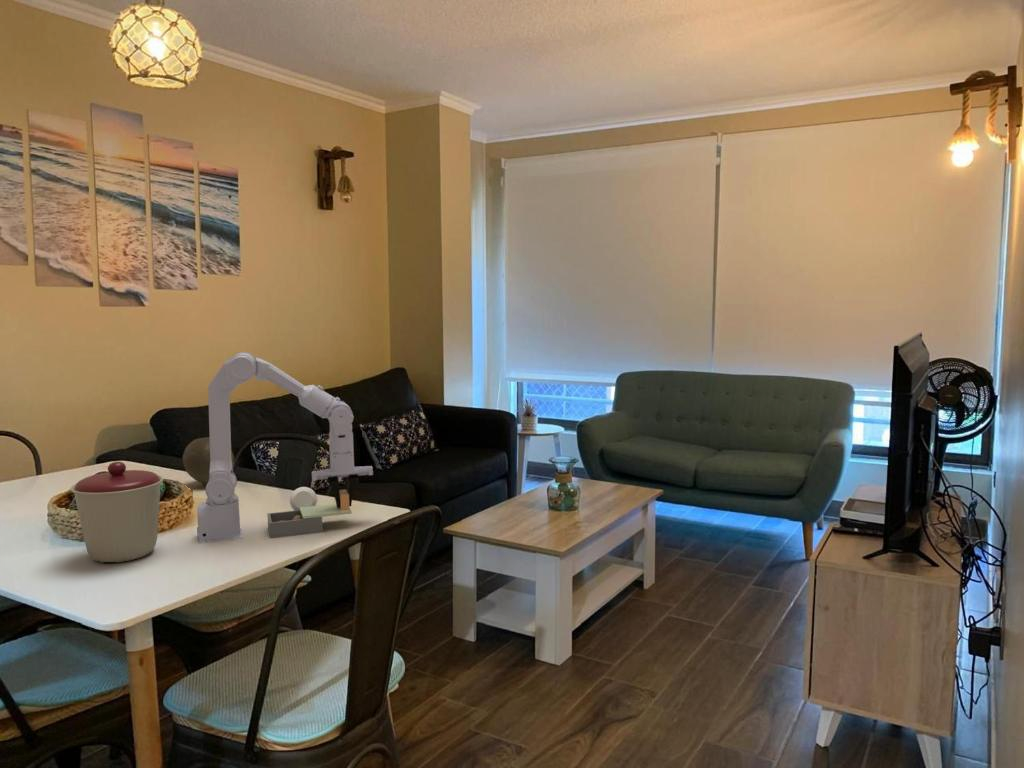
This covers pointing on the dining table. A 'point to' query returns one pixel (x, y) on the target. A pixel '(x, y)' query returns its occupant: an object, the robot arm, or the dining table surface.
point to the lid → (328, 508)
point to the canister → (119, 513)
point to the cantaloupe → (199, 459)
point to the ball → (297, 517)
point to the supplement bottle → (303, 498)
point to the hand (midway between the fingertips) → (343, 506)
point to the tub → (292, 524)
